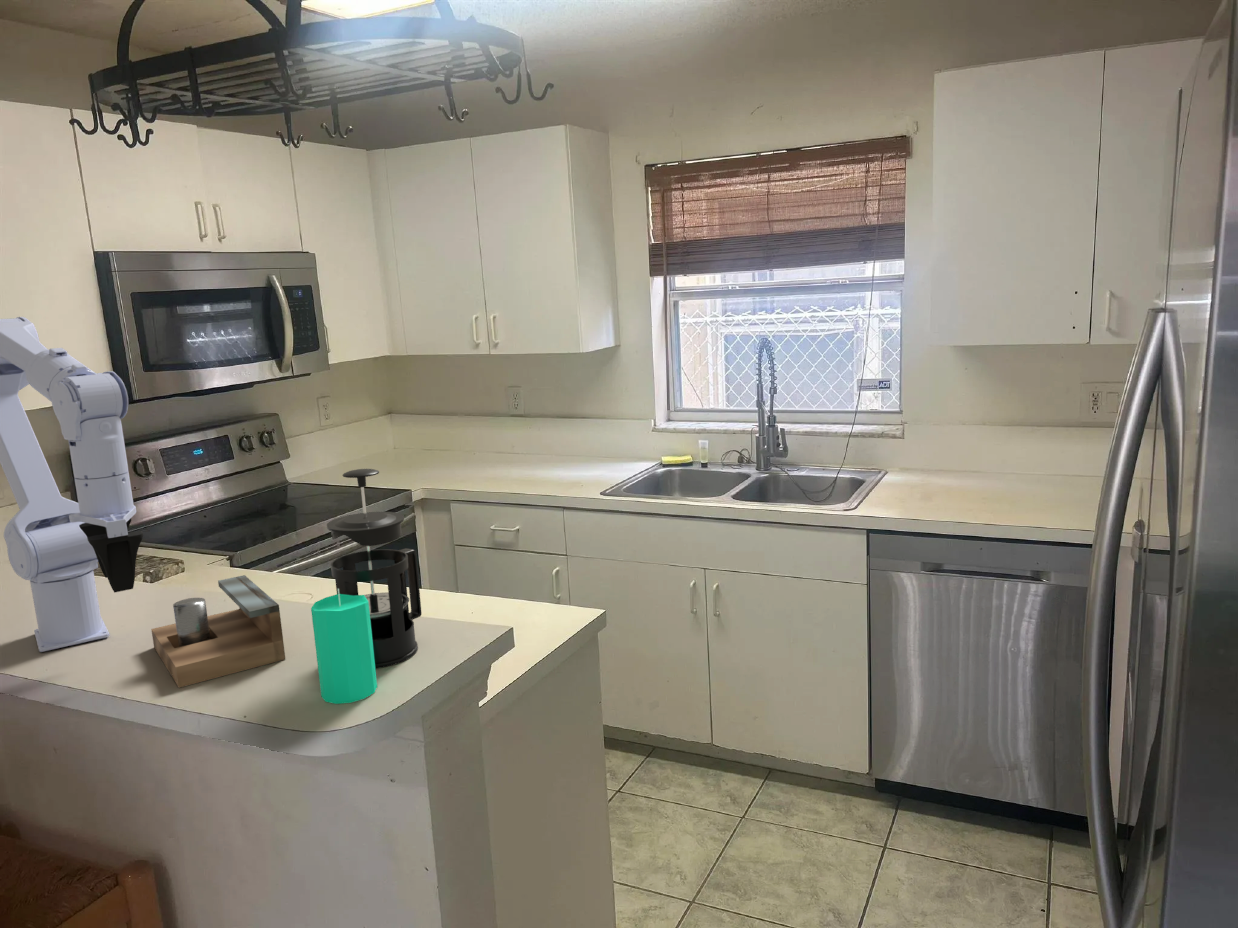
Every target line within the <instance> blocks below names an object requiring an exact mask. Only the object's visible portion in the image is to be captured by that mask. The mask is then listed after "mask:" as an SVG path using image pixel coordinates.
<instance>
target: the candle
mask: <svg viewBox="0 0 1238 928" xmlns="http://www.w3.org/2000/svg"><path fill="white" fill-rule="evenodd" d="M364 595H365V594H358V595H354V596H353V595H345V594H339V589H338V594H337V593H336V594H333V595H330V596H327V597H324V598H322V599H319V600H317V601H315V602H314V603H313V605H312V606H311V608H310V610H311V620H312V628H313V637H314V647H315V653H316V663H317V670H318V680H319V688H320V695H321V698H322V699H323V701H324V702H326V703H331V704H335V705H339V704H351V703H354V702H355V703H356V702H358V701H362V700H366V699H367V698H369V697H370V696H372V695H373V693H374V692H375V693H376V691H377V689H378V680H377V673H376V672H377V671H376V669H377V668H375V660H374V650H373V640H372V631H371V621H370V611H369V602H368V600H367V599H366V597H365V596H364ZM376 688H377V689H376ZM375 690H376V691H375ZM375 693H374V694H375ZM371 694H372V695H371ZM368 696H369V697H368ZM366 697H367V698H366ZM361 699H362V700H361Z"/></svg>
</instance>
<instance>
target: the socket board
mask: <svg viewBox="0 0 1238 928" xmlns="http://www.w3.org/2000/svg"><path fill="white" fill-rule="evenodd" d="M217 581H218V582H217V583H218V584H217V585H218V587H219V589H220V590H222V592H224V593H225V594H226V595H227V596H228V597H229V598H230V599H231V600H232V602H234V603H235V605H237V606H238V609H237V608H236V609H232V610H229V611H225V612H219V613H217V614H211V615H207V617H208V624H209V632H210V639H211V640H207V641H203V642H199V643H195V644H190V645H186V646H182V647H179V643H178V636H177V629H176V622H175V623H172V624H167V625H163V626H158V627H154V628H151V636H152V643H153V648H154V650H155V651H156V653H157V655H158V656H159V658H160V660H161V661H162V662H163V664H164V666H165V667H166V669H167V671H168V672H169V674H170V676H171V677H172V680H173V681H174V683H175V684H176V686H177V687H178V688H182V687H183V688H184V687H186V686H191V685H194V684H198V683H202V682H206V681H209V680H213V679H216V678H220V677H224V676H228V675H232V674H236V673H239V672H243V671H247V670H251V669H255V668H259V667H262V666H265V665H269V664H272V663H273V664H274V663H277V662H281V661H284V660H286V652H285V645H284V644H285V643H284V636H283V629H282V628H283V627H282V618H281V611H280V604H278V602H276V601H275V600H274V599H273V598H271V596H270V595H268V594H267V593H266V592H265V591H264V590H262V589H261V588H260V587H259V586H258V585H257V584H256V583H255V582H254V581H253V580H251V578H249V577H247V576H246V574H244V575H238V576H233V577H229V578H225V579H220V580H217Z"/></svg>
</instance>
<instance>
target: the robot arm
mask: <svg viewBox="0 0 1238 928" xmlns="http://www.w3.org/2000/svg"><path fill="white" fill-rule="evenodd" d="M28 385H29V386H30V387H31V388H33V389H34V390H35V391H36V392H38V393H39V394H41V395H42V396H43V397H44V398H46V399H47V400H48V401H50V402H51V407H52V409H53V412H54V414H55V417H56V419H57V421H58V422H59V426H60V431H61V436H63V440H66V441H68V446H69V453H70V459H71V464H72V465H71V466H72V471H73V477H74V478H73V479H74V485H75V489H76V497H77V502H76V501H74V500H72V499H68V498H67V497H65V496H64V497H63V496H62V494H61V493H60V491H59V487H58V485H57V483H56V480H55V478H54V476H53V474H52V472H51V469H50V467H49V464H48V462H47V460H46V457H45V455H44V453H43V451H42V448H41V445H40V444H39V441H38V438H37V436H36V434H35V432H34V429H33V427H32V424H31V422H30V420H29V417H28V415H27V413H26V410H25V409H24V405H23V404H22V401H21V399H20V396H19V392H20V390H23V389H24V388H25V387H27V386H28ZM125 385H126V384H125V383H124V382H123V379H122V378H121V377H120V376H119V375H118V374H117V373H116V372H115V371H112V370H111V371H110V370H109V371H104V372H98V373H97V372H96V371H94V370H92V369H91V368H89V367H88V366H86V365H85V364H84V363H83V362H81V361H79V360H78V359H76V358H75V357H73V356H72V355H71V354H70V353H68V351H67V350H66V349H65V348H63V347H54V348H47V347H46V346H45V345H44V344H42V342H40V338H39V334H38V331H37V328H36V326H35V323H33V322H32V321H31V320H29V319H28V318H27V317H26V316H17V317H15V318H0V465H1V469H2V471H3V473H4V475H5V477H6V480H7V482H8V485H9V487H10V489H11V492H12V494H13V497H14V499H15V502H16V503H17V504H16V505H17V506H18V508H19V510H18V511H17V512H16V513H15V514H14V515H13V516H12V517H11V518H10V520H9V521H8V522H7V524H6V525H5V528H4V531H3V538H4V541H5V544H6V548H7V557H8V561H9V564H10V566H11V568H12V570H13V571H14V573H15V574H16V575H17V576H18V577H20V578H21V579H23V580H25V581H29V584H30V588H31V595H32V600H33V601H32V602H33V605H34V611H35V617H36V622H37V628H35V629H34V630H33V633H34V636H35V639H36V644H37V647H38V652H40V653H42V652H48V651H51V650H56V649H60V648H65V647H68V646H69V647H70V646H74V645H79V644H83V643H87V642H92V641H96V640H101V639H105V638H108V637H109V636H110V632H109V630H108V628H107V625H106V624H105V622H104V619H103V618H102V615H101V610H100V609H101V608H100V603H99V597H98V592H97V586H96V579H95V572H94V570H96V569H98V568H99V567H100V570H101V572H102V574H103V576H104V577H105V579H106V578H107V580H108V583H109V585H110V587H111V590H112V591H113V593H119V592H125V591H129V590H134V585H135V580H136V579H135V578H136V561H137V556H138V551H139V548H140V545H141V543H142V541H143V538H144V532H143V531H142V530H136V531H130V532H128V531H129V528H130V526H131V525H130V524H131V522H132V518H133V517H134V516H135V515H136V514H137V507H136V505H134V504H135V503H134V499H133V492H132V485H131V479H130V473H129V465H128V459H127V451H126V445H125V436H124V432H123V431H124V430H123V425H122V420H123V419H124V418H125V417H126V415H127V414H128V410H129V396H128V390H127V388H126V386H125Z"/></svg>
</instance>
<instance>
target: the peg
mask: <svg viewBox="0 0 1238 928" xmlns="http://www.w3.org/2000/svg"><path fill="white" fill-rule="evenodd" d="M206 603H207V602H206V599H205V598H203V597H191V598H190V597H189V598H185V599H181V600H179V601H177V602H174V603H173V604H172V606H173V614H174V621H175V623H176V629H177V636H178V643H179V647H182V646H186V645H190V644H195V643H199V642H203V641H207V640H211V639H210V632H209V624H208V617H207V616H208V610H207V604H206Z"/></svg>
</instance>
